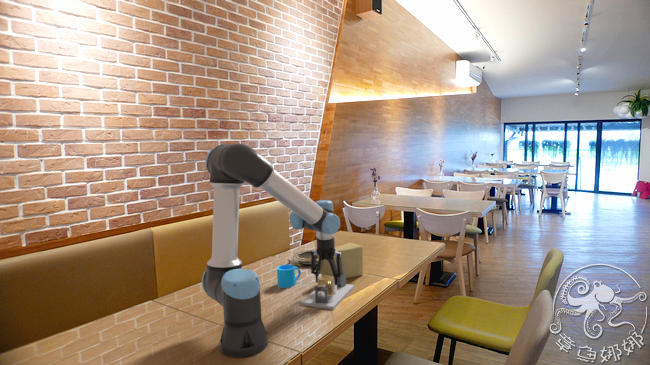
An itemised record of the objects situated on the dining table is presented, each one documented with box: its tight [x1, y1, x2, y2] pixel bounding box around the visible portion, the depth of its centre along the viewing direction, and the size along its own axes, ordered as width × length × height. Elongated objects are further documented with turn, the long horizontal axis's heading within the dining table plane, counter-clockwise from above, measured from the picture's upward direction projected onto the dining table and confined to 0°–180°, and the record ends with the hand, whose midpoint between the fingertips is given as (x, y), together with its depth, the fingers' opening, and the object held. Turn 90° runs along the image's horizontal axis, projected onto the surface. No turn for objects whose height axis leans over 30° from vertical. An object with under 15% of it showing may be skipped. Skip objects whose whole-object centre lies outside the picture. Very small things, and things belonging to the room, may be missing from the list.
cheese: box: [320, 242, 364, 279], centre depth 178 cm, size 22×10×15 cm, turn 127°
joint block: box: [317, 275, 334, 295], centre depth 159 cm, size 6×6×6 cm
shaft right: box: [332, 273, 347, 288], centre depth 165 cm, size 7×5×5 cm
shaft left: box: [314, 285, 328, 303], centre depth 151 cm, size 7×5×5 cm
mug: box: [276, 264, 302, 289], centre depth 174 cm, size 12×8×8 cm
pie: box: [288, 248, 319, 267], centre depth 206 cm, size 28×27×5 cm
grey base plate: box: [300, 283, 355, 311], centre depth 158 cm, size 24×14×1 cm, turn 156°
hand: (327, 290), depth 159 cm, fingers open, 6 cm apart
